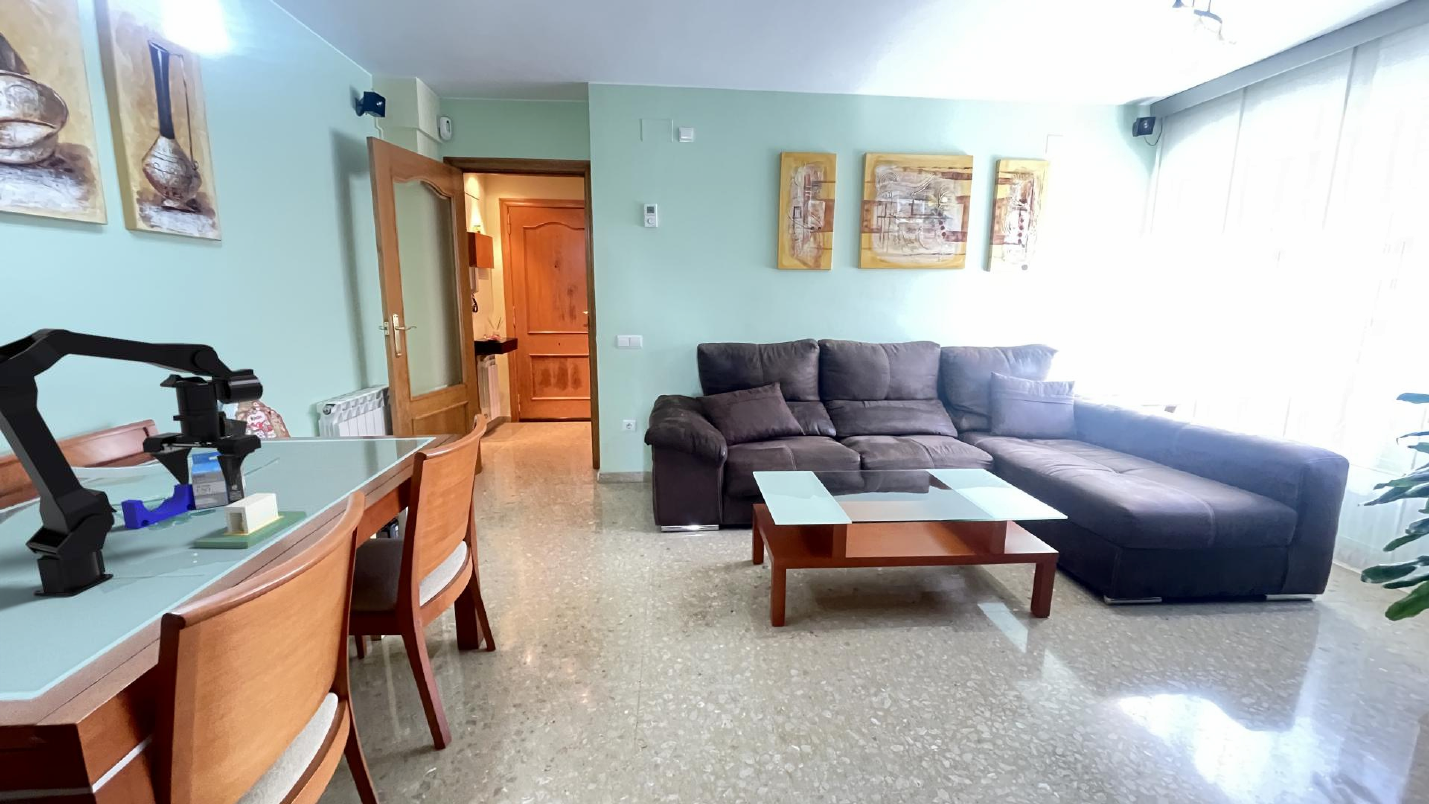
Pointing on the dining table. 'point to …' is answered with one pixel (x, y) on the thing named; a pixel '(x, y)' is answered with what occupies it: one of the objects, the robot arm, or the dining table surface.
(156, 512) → the blue cradle block
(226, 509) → the box
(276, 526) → the board
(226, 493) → the label tape box
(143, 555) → the dining table surface
